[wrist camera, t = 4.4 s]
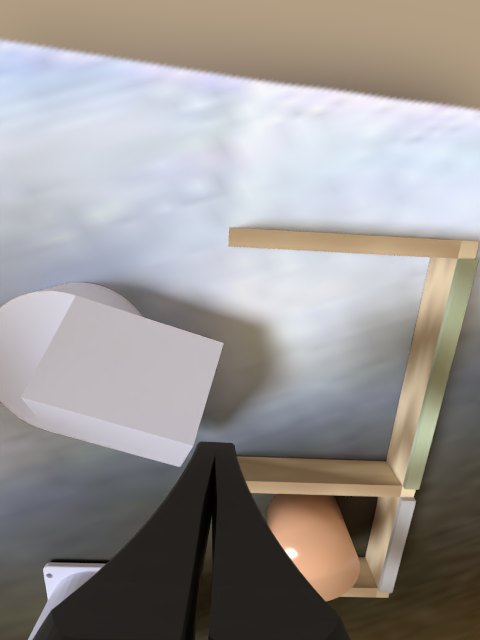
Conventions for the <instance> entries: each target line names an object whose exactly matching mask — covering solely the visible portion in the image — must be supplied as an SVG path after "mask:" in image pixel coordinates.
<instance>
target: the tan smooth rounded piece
mask: <svg viewBox="0 0 480 640" xmlns="http://www.w3.org/2000/svg"><path fill="white" fill-rule="evenodd" d="M267 524H268V526H269V528H270V529H271V531H272V533H273V534H274V536H275V537H276V539H277V540H278V542H279V543H280V545H281V546H282V548H283V549H284V550H285V552H286V553H287V554H288V556H289V557H290V558H291V560H292V561H293V563H294V564H295V565H296V567H297V568H298V569H299V571H300V572H301V573H302V574H303V576H304V577H305V578H306V579H307V580H308V582H309V583H310V584H311V585H312V587H313V588H314V589H315V590H316V591H317V592H318V593H319V595H320V596H321V597H322V598H323V599H324V600H325V601H330V600H333V599H335V598H338V597H339V596H341V595H343V594H344V593H346V592H347V591H348V590H350V589H351V588H352V587H353V585H354V584H355V583H356V581H357V579H358V577H359V574H360V562H359V559H358V556H357V553H356V551H355V548H354V546H353V543H352V540H351V538H350V535H349V533H348V530H347V527H346V525H345V522H344V519H343V517H342V514H341V512H340V509H339V506H338V504H337V502H336V500H335V498H334V497H333V496H332V495H308V494H277V495H276V496H275V497H274V498H273V499H272V501H271V502H270V504H269V506H268V509H267Z"/></svg>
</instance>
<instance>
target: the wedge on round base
mask: <svg viewBox="0 0 480 640" xmlns="http://www.w3.org/2000/svg"><path fill="white" fill-rule="evenodd" d="M223 345H224V343H222V342H219V341H216V340H213V339H210V338H207V337H203V336H200V335H197V334H194V333H191V332H188V331H185V330H182V329H179V328H175V327H172V326H169V325H166V324H163V323H160V322H157V321H154V320H151V319H148V318H144V317H142V315H141V314H140V312H139V311H138V310H137V309H136V308H135V306H133V305H132V304H131V303H130V302H129V301H128V300H127V299H125V298H124V297H123V296H121V295H120V294H118V293H116V292H115V291H113V290H111V289H108V288H106V287H103V286H100V285H96V284H93V283H85V282H72V283H65V284H61V285H57V286H54V287H50V288H46V289H43V290H39V291H35V292H31V293H28V294H25V295H21V296H19V297H17V298H14V299H12V300H10V301H9V302H7V303H6V304H4V305H3V306H2V307H1V308H0V402H1V403H2V404H3V405H4V406H5V407H6V408H7V409H8V410H9V411H11V412H12V413H13V414H14V415H16V416H17V417H18V418H20V419H22V420H23V421H25V422H27V423H29V424H31V425H33V426H35V427H37V428H40V429H43V430H46V431H50V432H53V433H57V434H61V435H64V436H68V437H72V438H75V439H79V440H83V441H86V442H90V443H94V444H97V445H101V446H105V447H108V448H112V449H116V450H119V451H123V452H127V453H130V454H134V455H138V456H141V457H145V458H149V459H152V460H156V461H159V462H163V463H167V464H170V465H174V466H178V467H180V466H181V465H182V463H183V461H184V460H185V458H186V457H187V455H188V453H189V452H190V450H191V449H192V447H193V445H194V442H195V438H196V435H197V431H198V428H199V425H200V421H201V418H202V415H203V411H204V408H205V405H206V401H207V398H208V395H209V391H210V388H211V385H212V381H213V378H214V375H215V371H216V368H217V365H218V361H219V358H220V355H221V351H222V348H223Z"/></svg>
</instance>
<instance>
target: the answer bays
mask: <svg viewBox="0 0 480 640" xmlns="http://www.w3.org/2000/svg"><path fill="white" fill-rule="evenodd" d="M478 245H479V241H462V240H445V239H427V238H409V237H391V236H373V235H355V234H337V233H319V232H301V231H284V230H266V229H248V228H230V227H229V246H232V247H251V248H269V249H288V250H306V251H325V252H343V253H362V254H380V255H399V256H417V257H431V258H430V262H429V267H428V272H427V276H426V281H425V285H424V290H423V295H422V299H421V304H420V308H419V313H418V318H417V322H416V327H415V331H414V336H413V340H412V345H411V350H410V354H409V359H408V363H407V368H406V373H405V377H404V382H403V386H402V391H401V396H400V400H399V405H398V409H397V414H396V419H395V423H394V428H393V432H392V437H391V441H390V446H389V451H388V455H387V460H386V461H360V460H330V459H301V458H271V457H241V456H237V459H238V462H239V465H240V468H241V471H242V474H243V476H244V479H245V481H246V483H247V486H248V488H249V490H250V492H251V493H275V494H308V495H341V496H375V497H378V501H377V506H376V510H375V515H374V520H373V524H372V529H371V533H370V538H369V542H368V547H367V552H366V556H365V557H358V559H359V562H360V574H359V577H358V579H357V581H356V583H355V584H354V585H353V587H352V588H351V589H350V590H348V591H347V592H346V593H344V594H343V595H341V596H339V597H383V598H388V596H389V593H392V592H393V588H394V584H395V580H396V576H397V573H398V569H399V565H400V561H401V557H402V553H403V550H404V546H405V542H406V538H407V534H408V530H409V527H410V523H411V519H412V515H413V511H414V507H415V503H416V500H415V499H414V494H415V490H419V488H420V484H421V480H422V477H423V473H424V469H425V465H426V461H427V457H428V454H429V450H430V446H431V442H432V438H433V434H434V431H435V427H436V423H437V419H438V415H439V411H440V408H441V404H442V400H443V396H444V392H445V388H446V384H447V381H448V377H449V373H450V369H451V365H452V361H453V358H454V354H455V350H456V346H457V342H458V338H459V335H460V331H461V327H462V323H463V319H464V315H465V312H466V308H467V304H468V300H469V296H470V292H471V289H472V285H473V281H474V277H475V273H476V269H477V265H478V262H479V260H475V257H476V253H477V249H478Z"/></svg>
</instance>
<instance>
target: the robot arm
mask: <svg viewBox="0 0 480 640" xmlns="http://www.w3.org/2000/svg"><path fill="white" fill-rule="evenodd" d="M211 517H212V559H213V580H212V594H211V609H210V623H209V638H208V640H350V638H349V635H348V633H347V631H346V629H345V626H344V624H343V622H342V620H341V618H340V616H339V615H338V614H337V613H336V612H335V611H334V610H333V609H332V608H331V607H330V606H329V605H328V604H327V602H326V601H325V600H324V599H323V598H322V597H321V596H320V595H319V593H318V592H317V591H316V590H315V589H314V588H313V587H312V585H311V584H310V583H309V582H308V580H307V579H306V578H305V577H304V576H303V574H302V573H301V572H300V571H299V569H298V568H297V567H296V565H295V564H294V563H293V561H292V560H291V558H290V557H289V556H288V554H287V553H286V552H285V550H284V549H283V548H282V546H281V545H280V543H279V542H278V540H277V539H276V537H275V536H274V534H273V533H272V531H271V529H270V528H269V526H268V524H267V523H266V521H265V519H264V518H263V516H262V514H261V512H260V510H259V509H258V507H257V505H256V503H255V501H254V499H253V497H252V495H251V492H250V490H249V488H248V486H247V483H246V481H245V479H244V476H243V474H242V471H241V468H240V465H239V462H238V459H237V455H236V451H235V446H234V445H233V443H220V442H200V443H198V444H197V447H196V449H195V452H194V454H193V456H192V458H191V460H190V461H189V463H188V465H187V467H186V468H185V470H184V472H183V473H182V475H181V477H180V478H179V480H178V481H177V483H176V484H175V486H174V487H173V489H172V490H171V491H170V493H169V494H168V496H167V497H166V499H165V500H164V501H163V503H162V504H161V505H160V506H159V508H158V509H157V510H156V512H155V513H154V514H153V515H152V516H151V518H150V519H149V520H148V521H147V522H146V524H145V525H144V526H143V527H142V528H141V529H140V530H139V531H138V532H137V533H136V535H135V536H134V537H133V538H132V539H131V540H130V541H129V542H128V543H127V544H126V545H125V546H124V547H123V548H122V549H121V550H120V551H119V552H118V553H117V554H116V555H115V556H114V557H113V558H112V559H111V560H110V561H108V562H107V563H106V564H101V563H57V562H50V563H47V564H46V565H45V567H44V569H43V572H44V578H45V585H46V591H47V597H48V602H47V604H46V606H45V608H44V610H43V612H42V613H41V615H40V617H39V619H38V621H37V623H36V625H35V627H34V629H33V631H32V633H31V635H30V637H29V639H28V640H195V630H196V619H197V609H198V598H199V591H200V583H201V577H202V571H203V565H204V559H205V553H206V547H207V541H208V535H209V529H210V523H211Z"/></svg>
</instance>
